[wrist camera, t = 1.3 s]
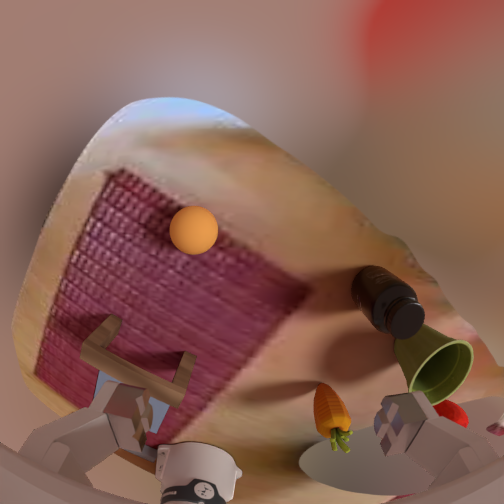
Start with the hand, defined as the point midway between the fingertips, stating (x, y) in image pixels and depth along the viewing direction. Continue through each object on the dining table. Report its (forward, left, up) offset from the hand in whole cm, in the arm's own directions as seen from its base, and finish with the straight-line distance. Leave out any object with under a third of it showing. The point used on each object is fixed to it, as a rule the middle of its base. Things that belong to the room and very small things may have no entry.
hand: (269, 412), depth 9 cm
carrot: (-17, -20, -31) cm, 41 cm away
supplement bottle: (+1, -18, -32) cm, 36 cm away
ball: (-2, +8, -28) cm, 29 cm away
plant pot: (-4, -31, -32) cm, 44 cm away
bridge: (-22, +8, -31) cm, 39 cm away
